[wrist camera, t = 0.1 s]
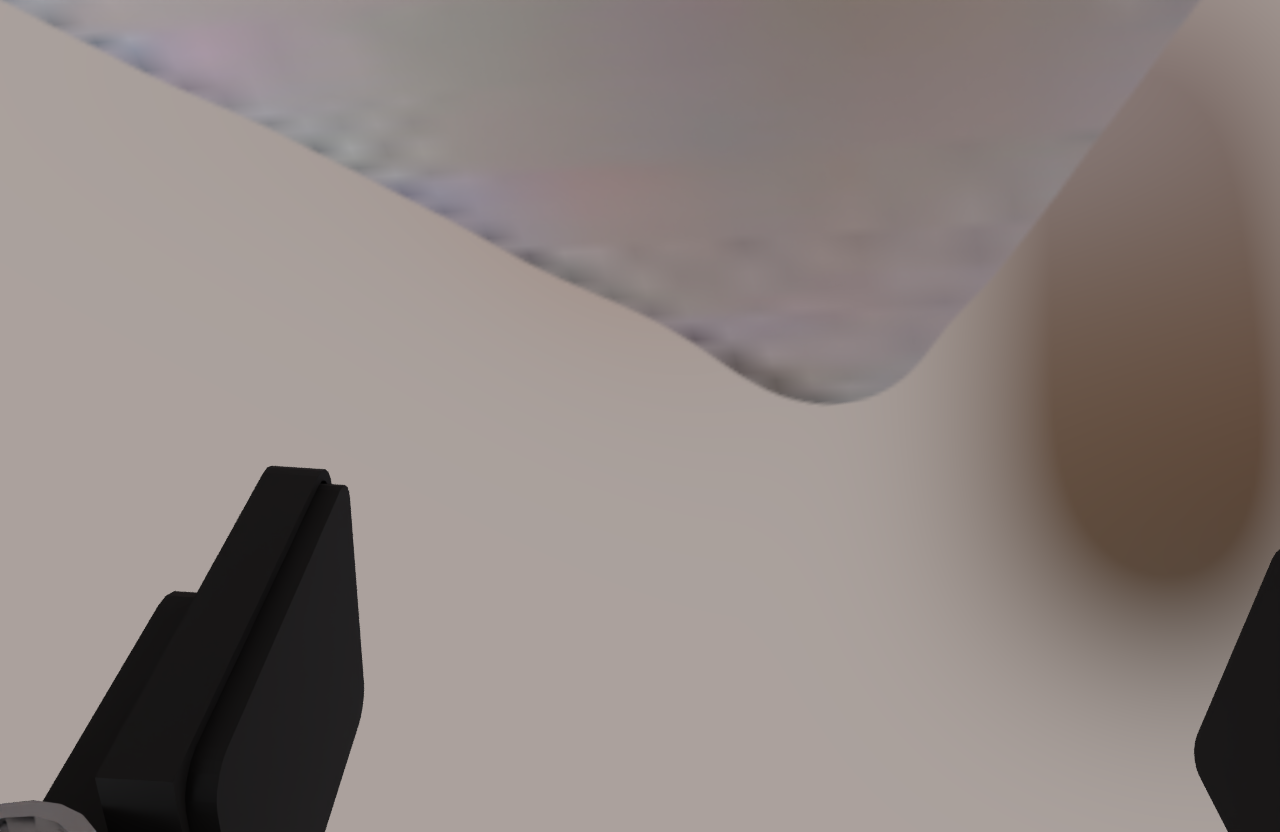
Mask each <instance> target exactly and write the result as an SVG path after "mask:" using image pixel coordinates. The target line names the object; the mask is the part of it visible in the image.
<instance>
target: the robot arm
mask: <svg viewBox="0 0 1280 832" xmlns="http://www.w3.org/2000/svg"><path fill="white" fill-rule="evenodd" d="M363 698H364V678H363V665H362V653H361V639H360V626H359V612H358V599H357V585H356V572H355V560H354V546H353V533H352V519H351V506H350V495H349V491H348V487H347V486H345V485H334V484H331V478H330V475H329V473H328V471H327V470H325V469H312V468H297V467H280V466H270V467H267V469H266V470H265V471H264V473H263V474H262V476H261V478H260V480H259V482H258V483H257V485H256V487H255V489H254V491H253V492H252V494H251V496H250V498H249V500H248V502H247V503H246V505H245V507H244V509H243V510H242V512H241V514H240V516H239V518H238V519H237V522H236V523H235V525H234V527H233V529H232V530H231V532H230V534H229V536H228V538H227V539H226V541H225V543H224V545H223V547H222V548H221V551H220V552H219V554H218V556H217V558H216V559H215V561H214V563H213V565H212V567H211V569H210V570H209V572H208V574H207V575H206V577H205V579H204V581H203V583H202V585H201V586H200V588H199V590H198V592H197V593H194V592H179V591H174V592H172V593H170V594H168V595H167V596H165V598H164V599H163V600H162V602H161V603H160V604H159V605H158V607H157V608H156V611H155V612H154V614H153V615H152V617H151V619H150V620H149V622H148V624H147V626H146V627H145V629H144V631H143V632H142V634H141V636H140V637H139V639H138V641H137V642H136V644H135V646H134V648H133V649H132V651H131V653H130V654H129V656H128V658H127V659H126V661H125V663H124V664H123V666H122V668H121V670H120V671H119V673H118V675H117V676H116V678H115V680H114V681H113V683H112V685H111V687H110V688H109V690H108V692H107V693H106V695H105V697H104V698H103V700H102V702H101V704H100V705H99V707H98V709H97V710H96V712H95V714H94V715H93V717H92V719H91V720H90V722H89V724H88V725H87V727H86V729H85V731H84V732H83V734H82V736H81V737H80V739H79V741H78V742H77V744H76V746H75V748H74V749H73V751H72V753H71V754H70V756H69V758H68V759H67V761H66V763H65V764H64V766H63V768H62V770H61V771H60V773H59V775H58V776H57V778H56V780H55V781H54V783H53V785H52V787H51V788H50V790H49V792H48V793H47V795H46V797H45V798H44V800H43V802H42V801H34V800H32V801H22V802H13V803H4V804H0V832H325V830H326V827H327V823H328V820H329V817H330V814H331V811H332V807H333V804H334V801H335V798H336V795H337V792H338V788H339V785H340V782H341V779H342V776H343V772H344V769H345V766H346V763H347V760H348V757H349V754H350V750H351V747H352V744H353V741H354V738H355V735H356V731H357V728H358V725H359V721H360V718H361V713H362V707H363ZM1194 754H1195V755H1194V756H1195V763H1196V768H1197V771H1198V774H1199V776H1200V778H1201V780H1202V782H1203V784H1204V786H1205V788H1206V790H1207V792H1208V794H1209V796H1210V798H1211V799H1212V801H1213V804H1214V805H1215V807H1216V809H1217V811H1218V813H1219V815H1220V817H1221V819H1222V821H1223V823H1224V825H1225V827H1226V829H1227V831H1228V832H1280V550H1279V551H1278V552H1276V554H1275V555H1274V557H1273V559H1272V561H1271V563H1270V565H1269V568H1268V570H1267V572H1266V575H1265V577H1264V580H1263V582H1262V585H1261V586H1260V589H1259V591H1258V594H1257V596H1256V598H1255V601H1254V603H1253V605H1252V608H1251V610H1250V612H1249V615H1248V617H1247V619H1246V622H1245V624H1244V626H1243V629H1242V631H1241V633H1240V636H1239V638H1238V640H1237V643H1236V645H1235V647H1234V650H1233V652H1232V654H1231V657H1230V659H1229V662H1228V664H1227V666H1226V669H1225V671H1224V673H1223V676H1222V678H1221V680H1220V683H1219V685H1218V687H1217V690H1216V692H1215V694H1214V697H1213V699H1212V701H1211V704H1210V706H1209V708H1208V711H1207V713H1206V716H1205V718H1204V720H1203V722H1202V725H1201V727H1200V730H1199V732H1198V734H1197V737H1196V741H1195V748H1194Z"/></svg>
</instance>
